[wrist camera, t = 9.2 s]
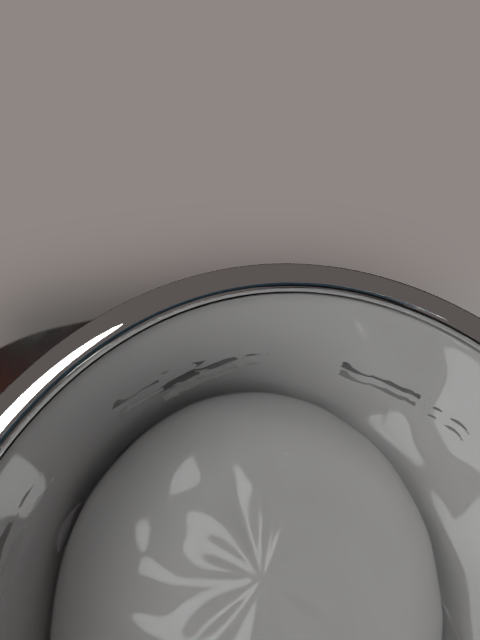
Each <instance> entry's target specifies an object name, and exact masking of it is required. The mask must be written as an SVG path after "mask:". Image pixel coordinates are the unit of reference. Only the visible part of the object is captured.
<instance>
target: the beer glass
mask: <svg viewBox="0 0 480 640" xmlns="http://www.w3.org/2000/svg"><path fill="white" fill-rule="evenodd" d="M81 501H82V502H83V507H82V509H81V511H80V513H79V515H78V517H77V519H76V521H75V523H74V526H73V528H72V531H71V533H70V536H69V538H68V541H67V544H66V546H65V547H64V548H63V549H62V550H61V551H60V552H58V547H59V533H60V529H61V527H62V526H63V524H64V523H65V521H66V520H67V519H68V517H69V516H70V515H71V514H72V512H73V511H74V510H75V508H76V507H77V506H78V505H79V504H80V503H81ZM442 603H443V605H444V607H445V608H446V610H447V612H448V614H449V616H450V618H451V620H452V622H453V624H454V626H455V628H456V630H457V632H458V634H459V637H460V639H461V640H480V318H479V317H477V316H475V315H473V314H472V313H470V312H468V311H466V310H464V309H462V308H460V307H458V306H456V305H454V304H452V303H450V302H448V301H446V300H444V299H441V298H439V297H437V296H435V295H432V294H430V293H428V292H425V291H422V290H420V289H417V288H415V287H412V286H409V285H406V284H403V283H400V282H397V281H394V280H391V279H388V278H384V277H381V276H377V275H373V274H369V273H365V272H360V271H356V270H350V269H345V268H338V267H331V266H321V265H311V264H291V263H290V264H287V263H285V264H259V265H249V266H241V267H234V268H228V269H222V270H217V271H212V272H208V273H203V274H199V275H196V276H192V277H188V278H185V279H182V280H178V281H175V282H172V283H170V284H167V285H164V286H162V287H159V288H156V289H154V290H151V291H149V292H146V293H144V294H142V295H140V296H137V297H135V298H133V299H131V300H129V301H127V302H125V303H123V304H121V305H119V306H117V307H115V308H113V309H111V310H109V311H108V312H106V313H104V314H102V315H101V316H99V317H97V318H96V319H94V320H92V321H91V322H89V323H87V324H86V325H84V326H83V327H81V328H80V329H78V330H77V331H75V332H74V333H72V334H71V335H69V336H68V337H67V338H65V339H64V340H63V341H61V342H60V343H58V344H57V345H56V346H54V347H53V348H52V349H51V350H49V351H48V352H47V353H46V354H44V355H43V356H42V357H41V358H39V359H38V360H37V361H36V362H35V363H34V364H32V365H31V366H30V367H29V368H28V369H27V370H26V371H24V372H23V373H22V374H21V375H20V376H19V377H18V378H17V379H16V380H15V381H14V382H13V383H11V384H10V385H9V386H8V387H7V388H6V389H5V390H4V391H3V392H2V393H1V394H0V640H442V635H443V607H442Z"/></svg>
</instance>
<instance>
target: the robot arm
mask: <svg viewBox="0 0 480 640" xmlns="http://www.w3.org/2000/svg"><path fill="white" fill-rule="evenodd" d="M82 507H83V502H82V501H81V503H80V504H79V505H78V506H77V507H76V508H75V510H74V511H73V512H72V514H71V515H70V516H69V517H68V519H67V520H66V521H65V523H64V524H63V526H62V527H61V529H60V533H59V547H58V552H60V551H61V550H62V549H63V548H64V547H65V546H66V544H67V541H68V538H69V536H70V533H71V531H72V528H73V526H74V523H75V521H76V519H77V517H78V515H79V513H80V511H81V509H82ZM442 607H443V635H442V640H461V639H460V637H459V634H458V632H457V630H456V628H455V626H454V624H453V622H452V620H451V618H450V616H449V614H448V612H447V610H446V608H445V607H444V605H443V603H442Z"/></svg>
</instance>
